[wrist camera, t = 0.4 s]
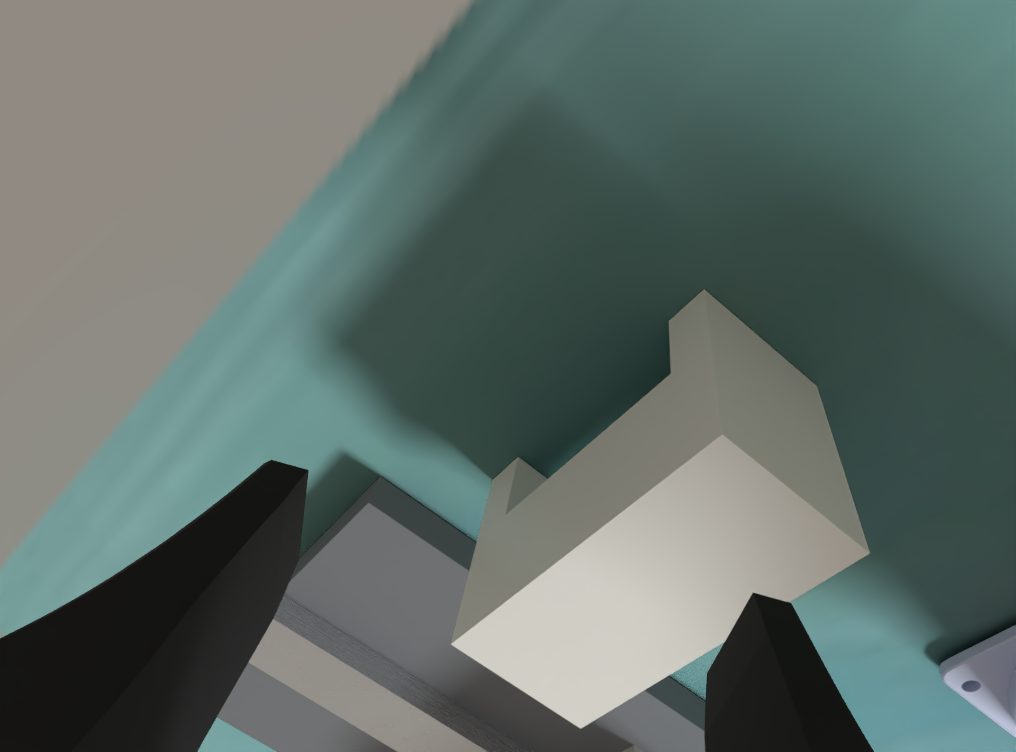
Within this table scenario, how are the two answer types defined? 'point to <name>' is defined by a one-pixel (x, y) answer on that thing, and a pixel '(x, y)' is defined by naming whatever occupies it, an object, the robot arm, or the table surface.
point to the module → (660, 526)
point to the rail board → (412, 656)
